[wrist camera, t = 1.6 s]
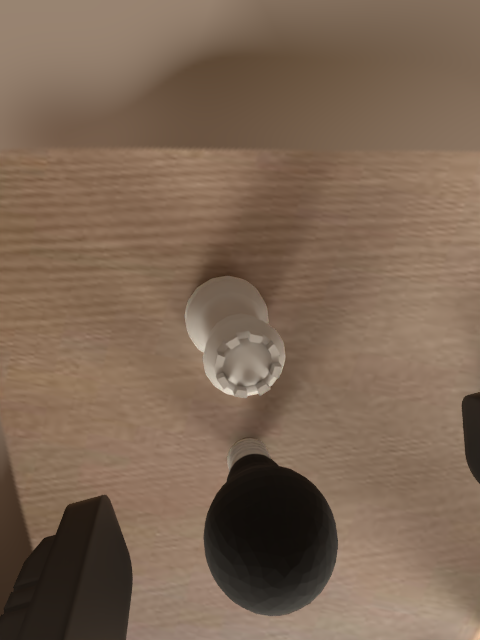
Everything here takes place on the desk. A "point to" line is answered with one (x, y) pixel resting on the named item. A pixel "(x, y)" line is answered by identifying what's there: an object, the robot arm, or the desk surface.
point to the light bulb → (269, 534)
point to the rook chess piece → (235, 336)
